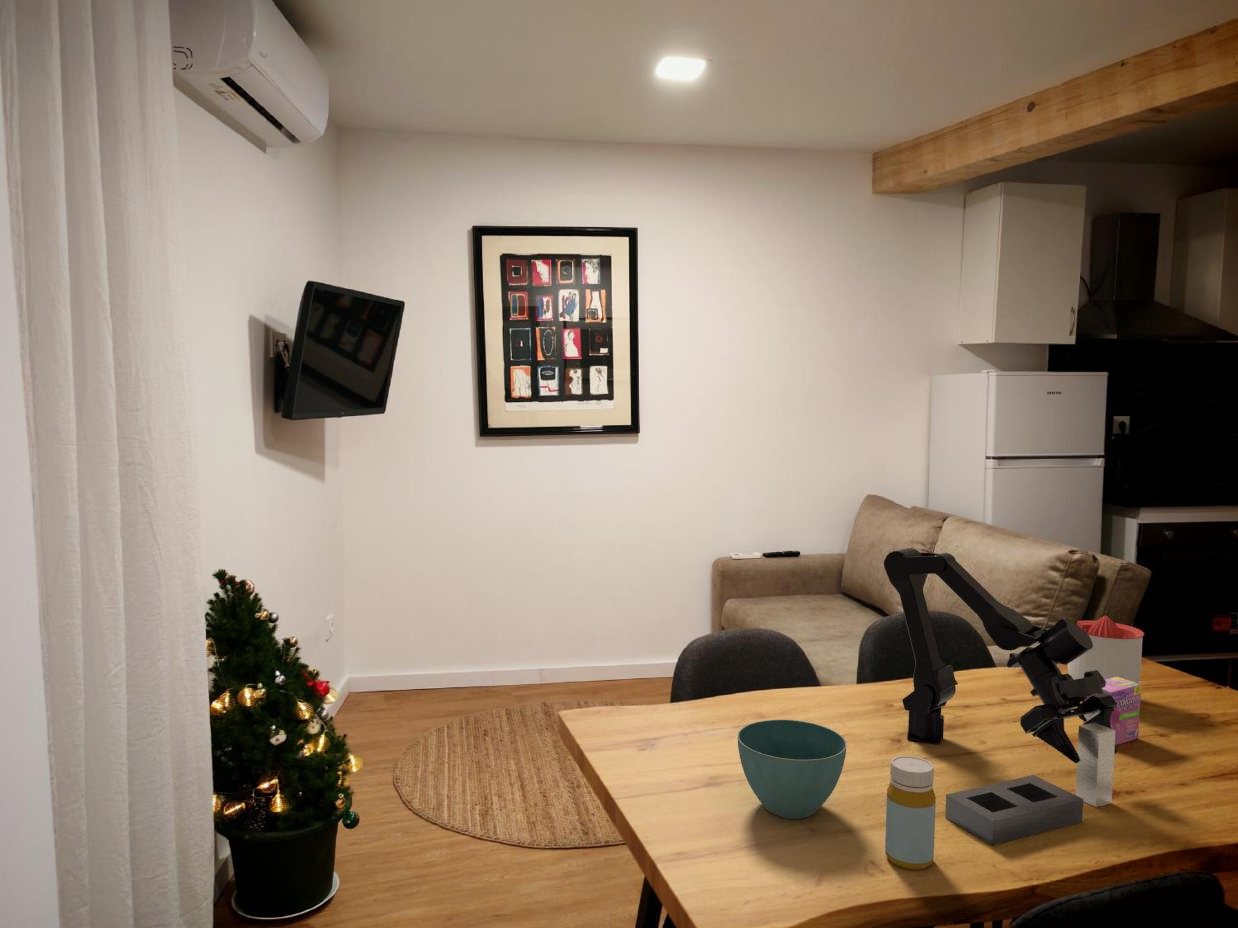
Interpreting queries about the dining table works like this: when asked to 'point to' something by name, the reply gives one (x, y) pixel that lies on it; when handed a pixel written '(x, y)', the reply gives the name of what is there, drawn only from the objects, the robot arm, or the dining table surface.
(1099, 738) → the peg
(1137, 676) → the citrus juicer
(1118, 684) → the box
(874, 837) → the dining table surface
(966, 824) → the grey flat block
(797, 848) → the dining table surface
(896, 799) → the bottle
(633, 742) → the dining table surface
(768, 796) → the teal bowl
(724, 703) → the dining table surface
